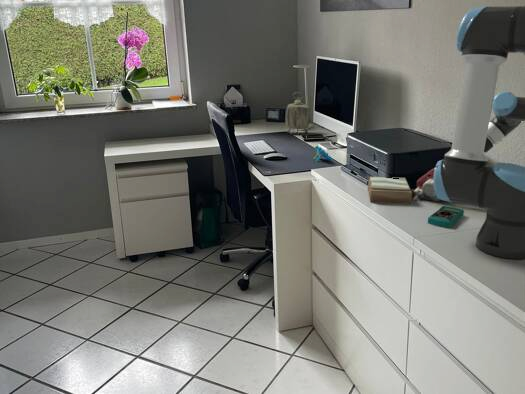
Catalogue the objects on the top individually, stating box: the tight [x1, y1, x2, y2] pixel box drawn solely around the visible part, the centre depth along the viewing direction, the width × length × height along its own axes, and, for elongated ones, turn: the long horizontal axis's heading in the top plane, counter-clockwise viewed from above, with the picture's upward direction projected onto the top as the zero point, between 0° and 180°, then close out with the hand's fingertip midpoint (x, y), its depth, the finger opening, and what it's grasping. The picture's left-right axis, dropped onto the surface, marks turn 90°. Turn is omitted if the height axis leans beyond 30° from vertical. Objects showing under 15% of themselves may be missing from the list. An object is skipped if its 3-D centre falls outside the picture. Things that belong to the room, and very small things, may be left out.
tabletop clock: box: [285, 91, 311, 135], centre depth 301 cm, size 14×9×25 cm, turn 84°
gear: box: [313, 145, 333, 162], centre depth 238 cm, size 11×6×10 cm
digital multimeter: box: [427, 205, 465, 229], centre depth 163 cm, size 7×15×3 cm, turn 143°
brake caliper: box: [413, 168, 442, 202], centre depth 183 cm, size 11×11×12 cm
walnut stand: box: [367, 176, 413, 205], centre depth 186 cm, size 18×14×5 cm
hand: (439, 178), depth 183 cm, fingers open, 13 cm apart
